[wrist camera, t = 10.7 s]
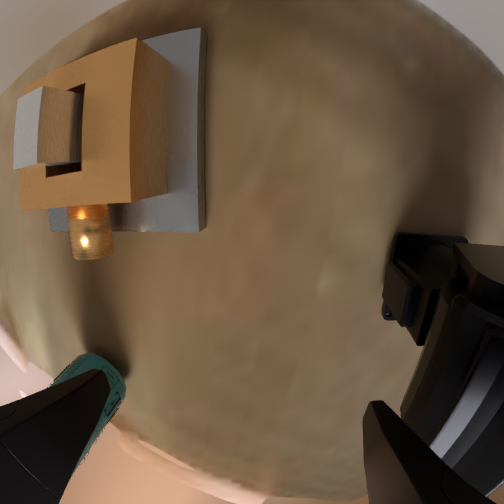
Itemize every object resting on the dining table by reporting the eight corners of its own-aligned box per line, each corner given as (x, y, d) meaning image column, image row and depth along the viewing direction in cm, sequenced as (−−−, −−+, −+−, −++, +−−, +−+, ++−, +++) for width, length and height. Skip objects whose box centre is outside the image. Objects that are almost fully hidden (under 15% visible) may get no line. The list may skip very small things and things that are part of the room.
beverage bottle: (78, 337, 24) (-41, 456, 5) (128, 350, 23) (5, 508, 4) (95, 382, 26) (4, 498, 7) (142, 397, 25) (55, 540, 6)
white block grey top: (131, 108, 17) (42, 85, 8) (129, 159, 18) (36, 163, 10) (106, 113, 17) (18, 98, 9) (104, 162, 18) (13, 169, 10)
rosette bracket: (207, 36, 15) (176, -6, 9) (206, 241, 19) (172, 272, 13) (62, 78, 17) (16, 67, 11) (63, 238, 21) (16, 258, 15)
